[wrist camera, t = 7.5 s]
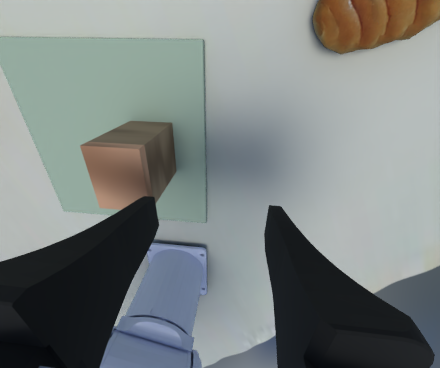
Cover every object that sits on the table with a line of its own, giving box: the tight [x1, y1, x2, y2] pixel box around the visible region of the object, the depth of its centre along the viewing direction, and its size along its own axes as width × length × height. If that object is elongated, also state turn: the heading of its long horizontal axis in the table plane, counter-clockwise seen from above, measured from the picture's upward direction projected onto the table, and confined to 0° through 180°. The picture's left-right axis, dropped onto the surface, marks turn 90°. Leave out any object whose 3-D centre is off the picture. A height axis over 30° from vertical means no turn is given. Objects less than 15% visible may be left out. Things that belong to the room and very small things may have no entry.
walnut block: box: [80, 121, 177, 210], centre depth 18 cm, size 5×4×7 cm
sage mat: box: [0, 37, 207, 223], centre depth 21 cm, size 18×18×1 cm
